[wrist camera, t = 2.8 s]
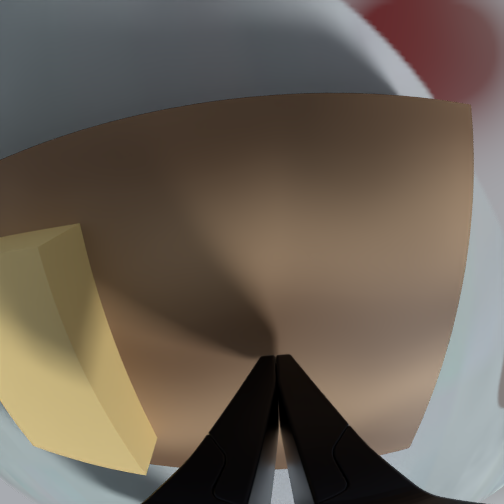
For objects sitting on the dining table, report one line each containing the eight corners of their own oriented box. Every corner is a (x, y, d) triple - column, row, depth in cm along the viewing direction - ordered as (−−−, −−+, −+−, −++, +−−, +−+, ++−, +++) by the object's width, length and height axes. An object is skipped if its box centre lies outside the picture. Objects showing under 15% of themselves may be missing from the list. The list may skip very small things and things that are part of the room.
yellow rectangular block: (157, 437, 11) (145, 475, 9) (50, 418, 11) (33, 445, 9) (80, 223, 8) (38, 247, 6) (-30, 243, 8) (-65, 262, 6)
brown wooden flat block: (387, 393, 15) (409, 447, 11) (60, 394, 16) (34, 436, 12) (410, 111, 10) (470, 104, 6) (-16, 178, 11) (-71, 196, 7)
